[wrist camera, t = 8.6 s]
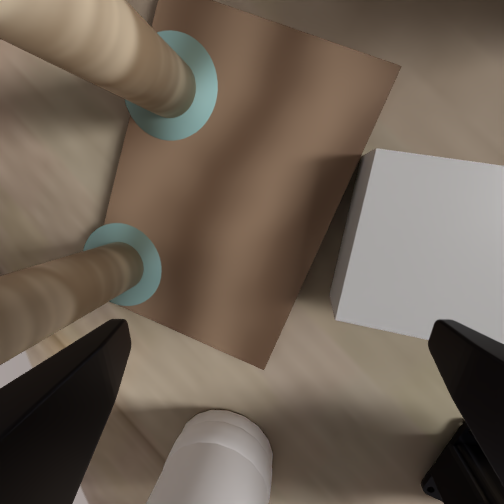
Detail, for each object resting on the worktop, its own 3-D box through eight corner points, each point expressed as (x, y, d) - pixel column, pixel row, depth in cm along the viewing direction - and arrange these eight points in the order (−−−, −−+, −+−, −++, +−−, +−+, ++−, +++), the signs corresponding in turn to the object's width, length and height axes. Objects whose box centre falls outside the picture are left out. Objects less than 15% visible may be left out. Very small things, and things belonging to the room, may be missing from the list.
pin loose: (196, 56, 17) (-86, -285, 5) (195, 119, 18) (-52, -32, 6) (141, 55, 18) (-243, -253, 5) (142, 117, 19) (-191, -26, 6)
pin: (149, 253, 20) (-96, 358, 8) (136, 296, 21) (-102, 452, 9) (105, 234, 21) (-199, 307, 8) (94, 277, 22) (-194, 403, 9)
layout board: (395, 74, 17) (402, 65, 16) (265, 360, 22) (263, 370, 21) (156, -10, 18) (145, -24, 17) (86, 281, 23) (75, 286, 22)
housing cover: (543, 182, 17) (614, 181, 13) (488, 326, 19) (536, 363, 15) (361, 156, 18) (376, 148, 14) (329, 294, 20) (335, 319, 16)
